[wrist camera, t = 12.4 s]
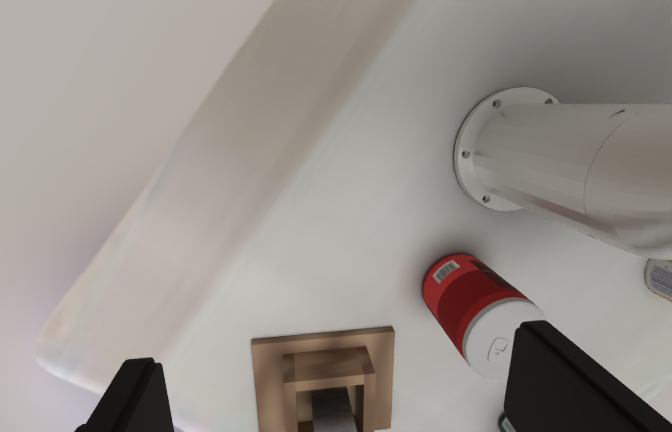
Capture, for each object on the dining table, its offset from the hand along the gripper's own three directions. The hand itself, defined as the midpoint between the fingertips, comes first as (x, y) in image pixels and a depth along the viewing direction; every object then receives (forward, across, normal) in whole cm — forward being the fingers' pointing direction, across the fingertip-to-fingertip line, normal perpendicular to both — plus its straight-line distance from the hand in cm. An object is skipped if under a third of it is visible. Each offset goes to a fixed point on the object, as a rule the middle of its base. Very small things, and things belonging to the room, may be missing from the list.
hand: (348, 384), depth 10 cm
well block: (+28, -2, +25) cm, 38 cm away
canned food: (+28, -17, +13) cm, 36 cm away
